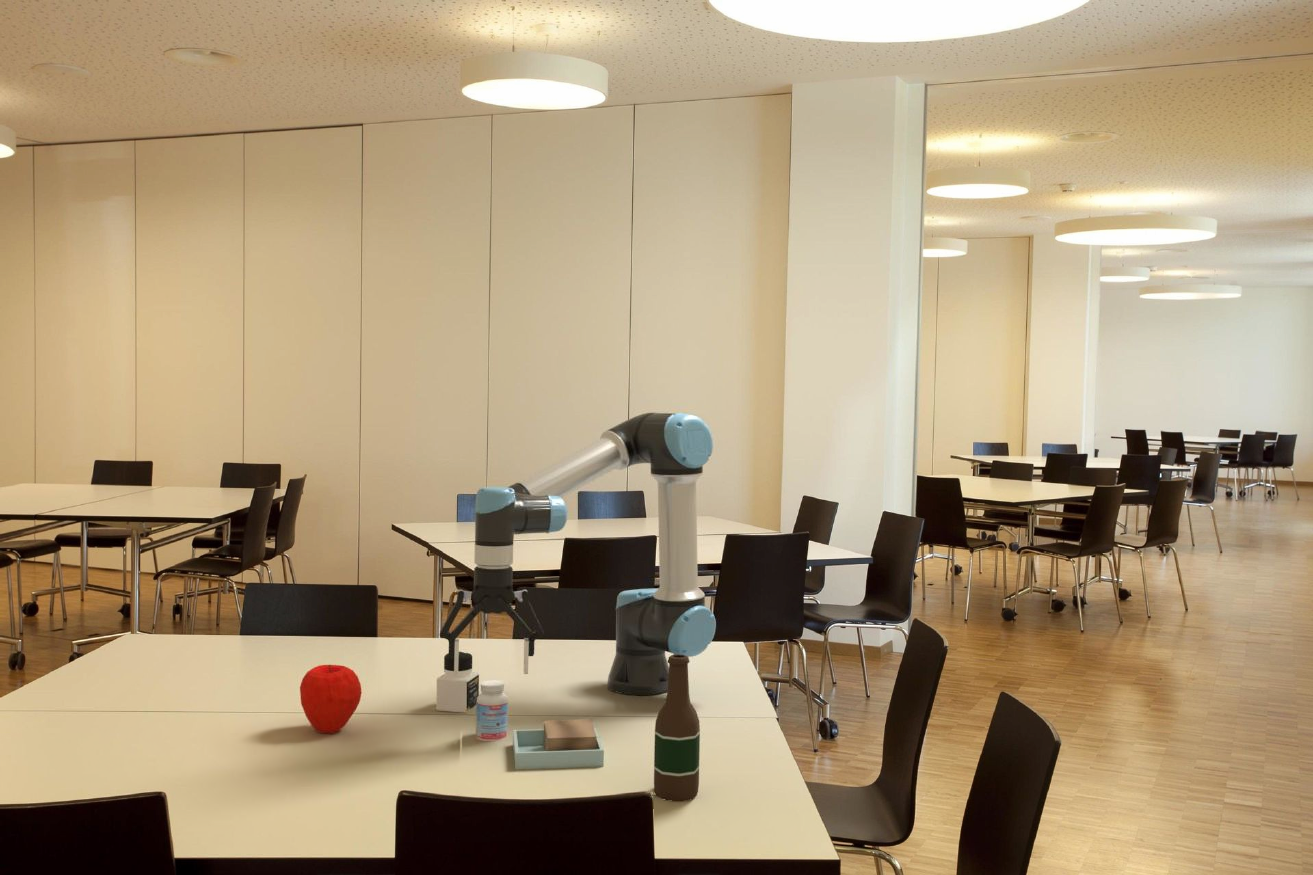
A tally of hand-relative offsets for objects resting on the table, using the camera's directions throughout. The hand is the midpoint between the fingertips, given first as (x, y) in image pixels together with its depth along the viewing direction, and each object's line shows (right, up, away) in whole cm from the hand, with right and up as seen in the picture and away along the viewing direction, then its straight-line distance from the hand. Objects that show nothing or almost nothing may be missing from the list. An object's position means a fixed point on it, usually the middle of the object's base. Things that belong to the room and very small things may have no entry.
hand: (491, 673), depth 218 cm
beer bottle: (+36, -15, -28) cm, 48 cm away
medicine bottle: (-11, -13, +22) cm, 28 cm away
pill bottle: (0, -13, +1) cm, 13 cm away
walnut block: (+16, -13, -10) cm, 23 cm away
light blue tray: (+14, -14, -10) cm, 22 cm away
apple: (-33, -13, +4) cm, 36 cm away
